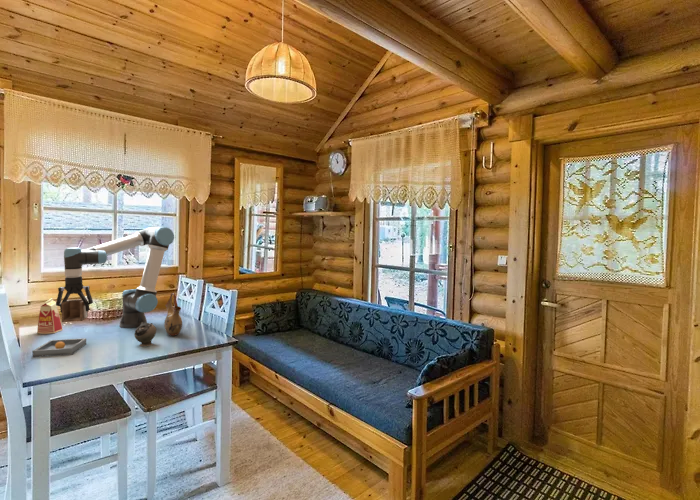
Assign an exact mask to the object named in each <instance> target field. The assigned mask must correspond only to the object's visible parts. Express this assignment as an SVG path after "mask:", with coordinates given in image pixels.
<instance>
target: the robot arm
mask: <svg viewBox="0 0 700 500" xmlns="http://www.w3.org/2000/svg"><path fill="white" fill-rule="evenodd" d="M174 240H175V234H174V232H173V230H172V229H171V228H170V227H167V226H163V225H162V226H154V225H153V226H149V227H147V228H143V229H141V230H139V231H138V230H137V231H135V233H134V234H131V235H128V236H124V237H120V238H117V239H115V240H111V241H108V242H104V243H102V244H98V245H96V246H92V247H88V248H81V247H66V248H64V251H63V260H64V261H63V263H64V276H65V278H64V284H65V285H64V286H60V287H58V288H57V289H58V294H57V296H56V297H57V299H56V301H55V302H56V306H57V307H60V309H59V310H60V311H59V313H61V314H62V308H61V303H63V302H66V301H67V300H69V298H70V296H71V295H73V294H76V295H78V296H79V299H80V300H81V299H82V301H84V304H85V305H84V318H86V317H87V311H88V312H90V305H92V304H94V300H93V297H92V294H91V291H90V286H89V285H87V286H85V285H84V283H83V266H85V265H87V266H88V265H100V264H106V262H107V261H108V256H111V255H114V254H117V253H120V252H123V251H126V250H130V249H132V248H136V247H139V246H140V247H143V246H147V247H148V248H149V250H148V253H147V257H146V261H145V265H144V270H143V273H142V277H141V280H140V284H139V286H137V287H136V288H134V289H133V288H132V289H125V290H123V291H122V295H121V297H122V314H121V315H122V316H121V318H120V320H119V327H120V328H123V329H124V328H127V329H129V328H138V327H139V326H140V325H141V323H142V322H144V323H148V320H147V317H146V315H145V314H146V313H150V312H152V311H154V310H155V308H156V307H157V306H158V303H159V301H158V298H157V292H158V291H157V290H156V286H157V282H158V279H159V275H160V272H161V267H162V263H163V258H164V256H165V252H166V251H168V250H169V246H170V245H171V244H172V243H173V242H174ZM83 290H84V292H85V294H86V296H85V294H84V292H83ZM64 291H66V293H65V295H64V297H63V293H64ZM62 298H63V299H62ZM87 318H88V317H87ZM87 318H86V319H87Z"/></svg>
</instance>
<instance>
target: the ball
mask: <svg viewBox="0 0 700 500" xmlns="http://www.w3.org/2000/svg"><path fill="white" fill-rule="evenodd" d="M64 347H65V343H64V342H62V341H60V342H57V343H56V344H55V348H56V349H62V348H64Z"/></svg>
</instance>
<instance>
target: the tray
mask: <svg viewBox="0 0 700 500" xmlns="http://www.w3.org/2000/svg"><path fill="white" fill-rule="evenodd" d="M60 341H62V342H64V343H65V347H64V348H62V349H56V348H55V344H56V343H57V342H60ZM85 345H87V338H71V339H69V338H67V339H51V340H48V341H47V342H45V343H44V344H42V345H40V346H38V347H36V348H34V349H33V350H32V353H31V354H32V358H40V357H39V356H41V357H54V356H69V355H71V356H72V355H74V354H75V353H76V352H77V351H79V350H80V349H81V348H83V347H85Z"/></svg>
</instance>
